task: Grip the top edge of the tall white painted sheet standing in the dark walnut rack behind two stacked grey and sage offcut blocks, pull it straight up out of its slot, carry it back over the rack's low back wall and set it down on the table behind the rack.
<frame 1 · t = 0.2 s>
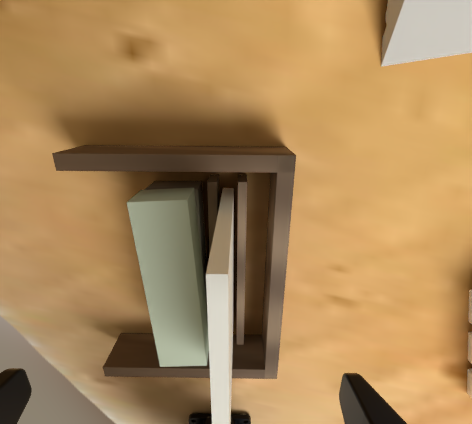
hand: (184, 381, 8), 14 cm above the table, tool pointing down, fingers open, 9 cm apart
offcut lower: (186, 255, 23), on the table, touching offcut upper
rack: (191, 258, 22), on the table
offcut upper: (179, 272, 20), point 2 cm above the table, touching offcut lower
sheet: (228, 258, 22), resting in rack
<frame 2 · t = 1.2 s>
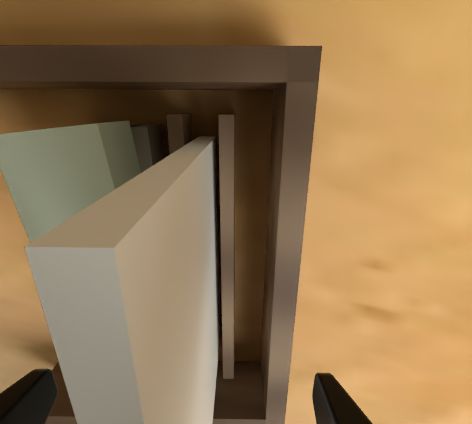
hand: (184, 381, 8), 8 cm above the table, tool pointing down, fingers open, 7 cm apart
offcut lower: (147, 246, 15), on the table, touching offcut upper
rack: (155, 250, 15), on the table
offcut upper: (125, 268, 13), point 2 cm above the table, touching offcut lower
sheet: (210, 250, 15), resting in rack
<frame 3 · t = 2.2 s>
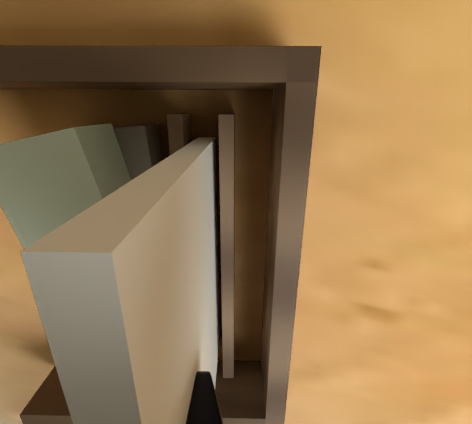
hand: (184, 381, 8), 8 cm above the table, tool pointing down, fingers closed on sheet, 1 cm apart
offcut lower: (149, 246, 15), on the table, touching offcut upper
rack: (155, 250, 15), on the table
offcut upper: (125, 271, 13), point 2 cm above the table, touching offcut lower
sheet: (210, 251, 15), resting in rack, touching gripper
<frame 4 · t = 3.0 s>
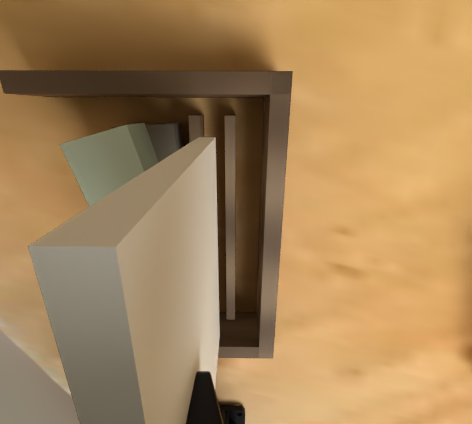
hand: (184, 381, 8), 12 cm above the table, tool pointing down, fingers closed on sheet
offcut lower: (169, 217, 20), on the table, touching offcut upper
rack: (174, 219, 19), on the table
offcut upper: (156, 232, 17), point 2 cm above the table, touching offcut lower, rack
sheet: (210, 250, 15), point 5 cm above the table, touching gripper
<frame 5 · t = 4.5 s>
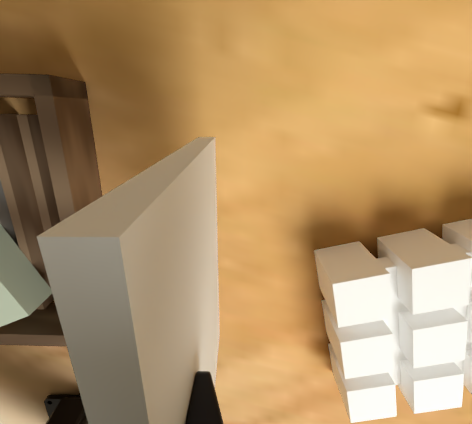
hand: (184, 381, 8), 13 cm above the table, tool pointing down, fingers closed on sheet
offcut lower: (5, 211, 21), on the table, touching offcut upper
rack: (10, 213, 20), on the table
sheet: (210, 249, 15), point 5 cm above the table, touching gripper
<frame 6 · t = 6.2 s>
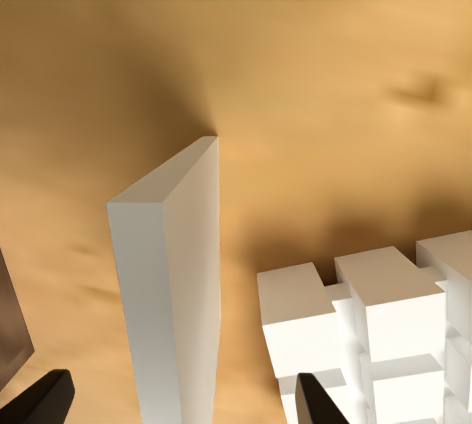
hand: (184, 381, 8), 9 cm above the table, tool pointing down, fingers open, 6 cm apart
sheet: (213, 240, 16), on the table
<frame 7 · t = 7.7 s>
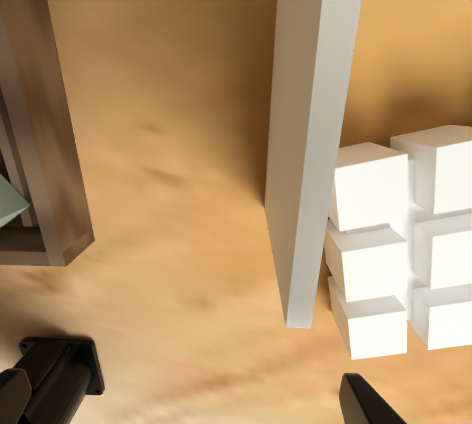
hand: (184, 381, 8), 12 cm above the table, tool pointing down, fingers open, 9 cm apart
sheet: (276, 117, 17), on the table
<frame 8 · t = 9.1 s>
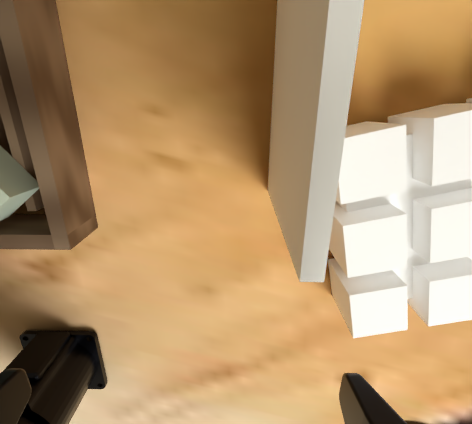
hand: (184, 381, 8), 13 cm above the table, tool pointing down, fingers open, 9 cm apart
sheet: (278, 98, 17), on the table
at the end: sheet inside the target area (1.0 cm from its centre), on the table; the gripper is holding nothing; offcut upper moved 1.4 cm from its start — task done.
